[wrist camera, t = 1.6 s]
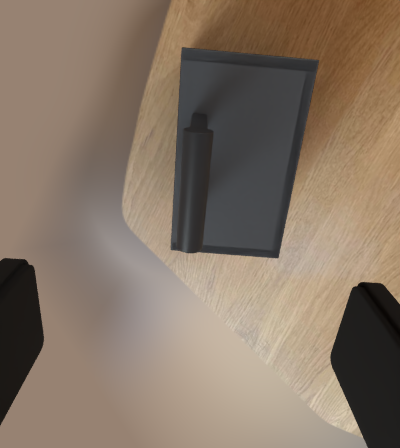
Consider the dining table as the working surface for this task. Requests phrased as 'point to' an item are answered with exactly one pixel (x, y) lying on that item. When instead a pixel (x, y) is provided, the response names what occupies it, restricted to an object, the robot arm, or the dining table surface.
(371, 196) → the dining table surface
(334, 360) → the robot arm
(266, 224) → the grey tool caddy
